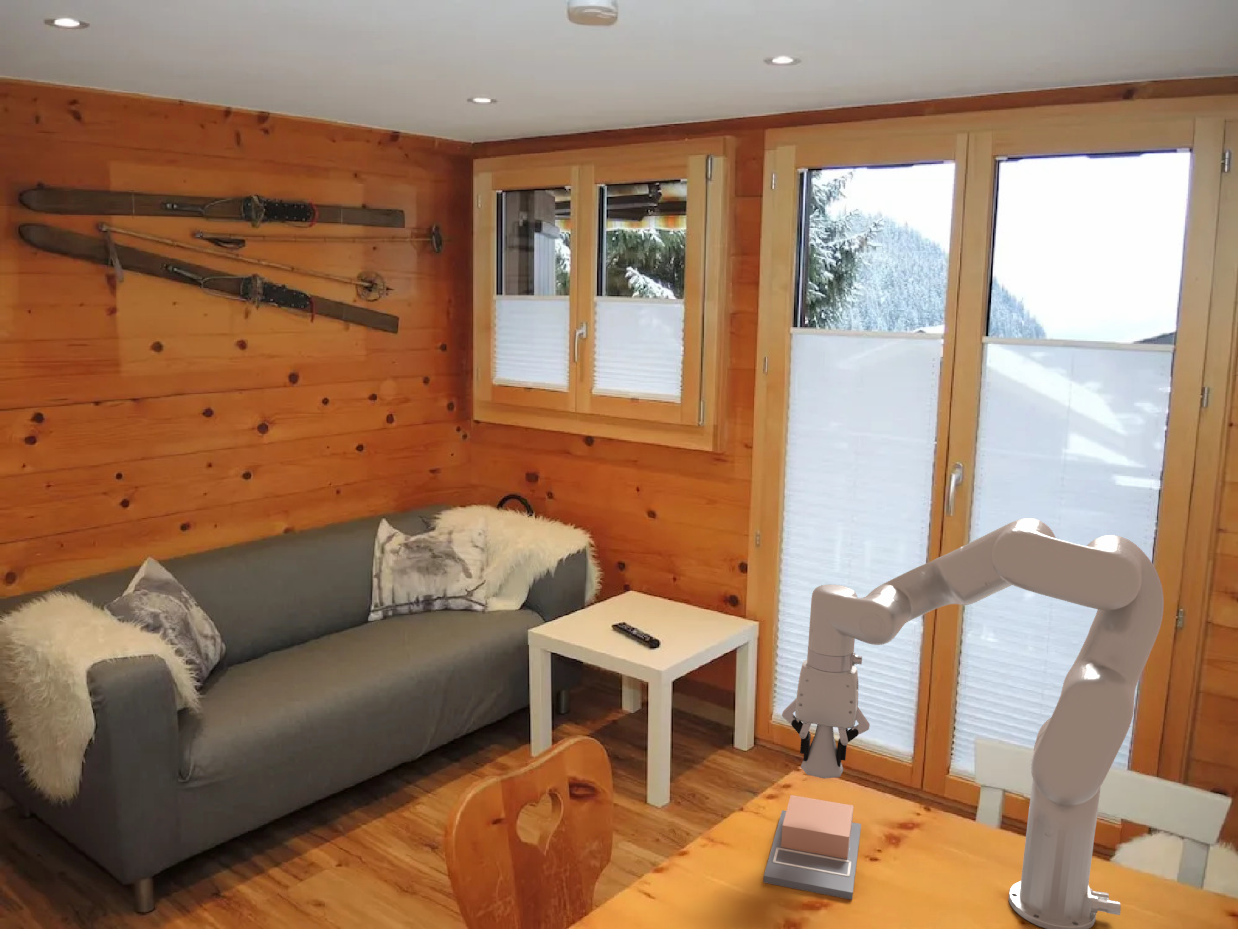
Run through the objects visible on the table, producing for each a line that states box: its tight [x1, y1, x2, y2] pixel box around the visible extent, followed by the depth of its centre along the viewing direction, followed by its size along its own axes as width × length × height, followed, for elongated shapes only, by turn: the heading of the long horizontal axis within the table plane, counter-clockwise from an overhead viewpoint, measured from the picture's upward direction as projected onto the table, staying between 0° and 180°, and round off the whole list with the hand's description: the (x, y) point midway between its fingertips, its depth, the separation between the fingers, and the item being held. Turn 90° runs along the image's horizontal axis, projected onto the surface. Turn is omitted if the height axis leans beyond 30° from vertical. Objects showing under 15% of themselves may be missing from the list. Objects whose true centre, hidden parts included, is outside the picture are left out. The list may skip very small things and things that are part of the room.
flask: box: [800, 724, 844, 779], centre depth 173 cm, size 7×7×10 cm
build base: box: [763, 794, 862, 900], centre depth 172 cm, size 14×22×5 cm, turn 163°
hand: (822, 759), depth 173 cm, fingers closed on flask, 4 cm apart
